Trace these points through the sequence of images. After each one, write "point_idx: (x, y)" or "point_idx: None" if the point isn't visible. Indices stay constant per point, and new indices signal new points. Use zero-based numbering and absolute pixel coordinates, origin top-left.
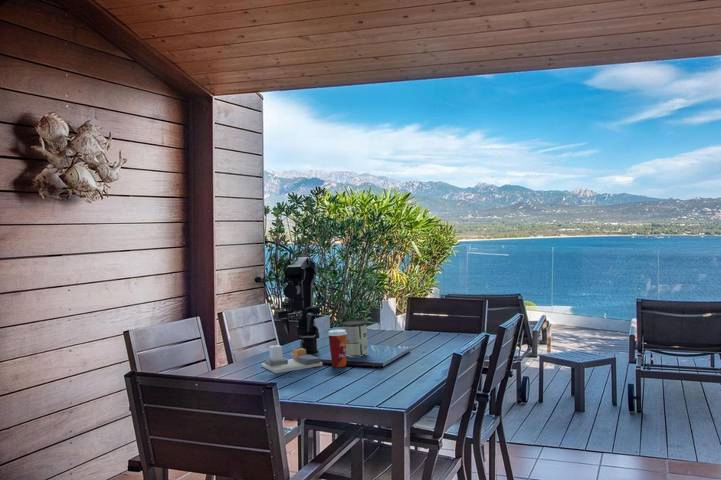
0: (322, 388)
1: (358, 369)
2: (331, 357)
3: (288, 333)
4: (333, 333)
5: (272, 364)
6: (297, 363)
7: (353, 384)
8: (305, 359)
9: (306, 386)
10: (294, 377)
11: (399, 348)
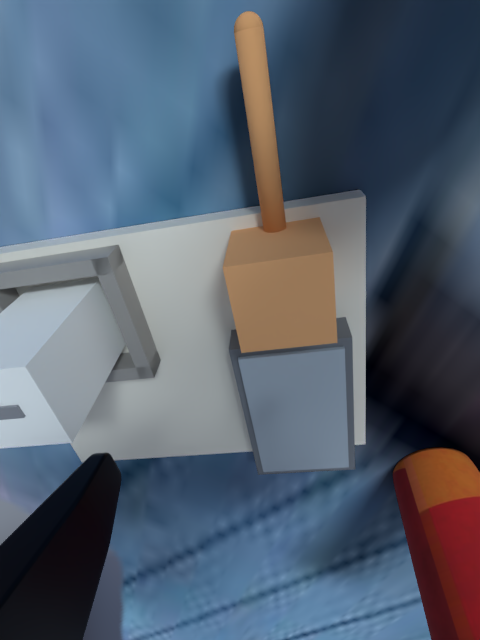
0: (229, 628)
1: None
2: (404, 521)
3: (107, 496)
4: None
5: None
6: (221, 392)
7: (322, 636)
8: (260, 461)
9: (190, 605)
10: (169, 528)
11: None
